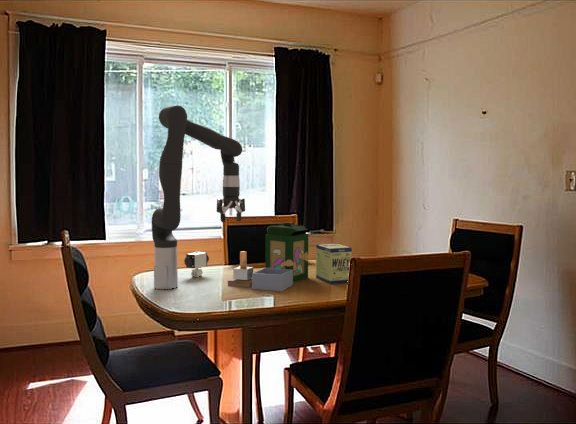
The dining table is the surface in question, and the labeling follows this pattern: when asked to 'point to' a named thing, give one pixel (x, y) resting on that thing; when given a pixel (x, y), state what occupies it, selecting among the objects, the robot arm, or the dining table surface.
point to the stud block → (240, 282)
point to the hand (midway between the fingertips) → (231, 221)
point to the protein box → (333, 262)
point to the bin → (272, 279)
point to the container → (287, 249)
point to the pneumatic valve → (196, 262)
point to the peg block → (243, 268)
